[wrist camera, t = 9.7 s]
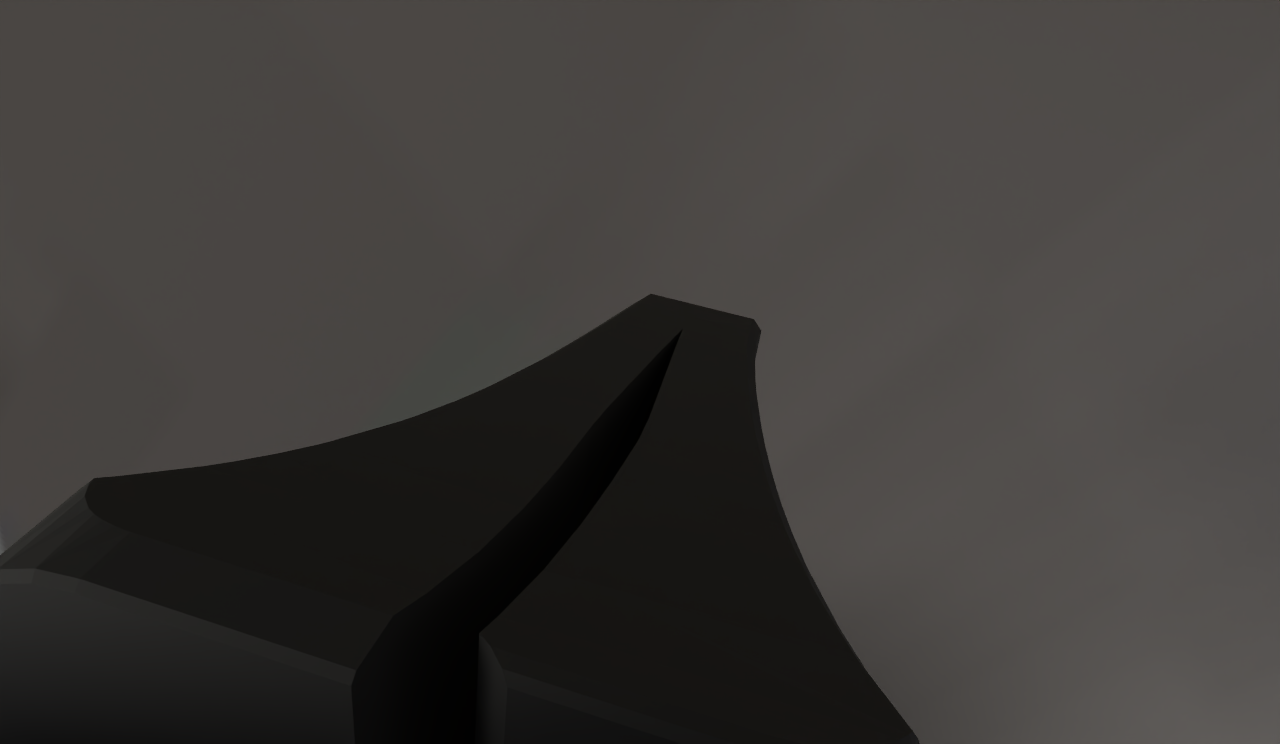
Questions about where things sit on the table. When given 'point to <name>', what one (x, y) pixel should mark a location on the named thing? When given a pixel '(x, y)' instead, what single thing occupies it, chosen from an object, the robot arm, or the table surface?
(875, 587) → the table surface
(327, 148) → the table surface
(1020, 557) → the table surface
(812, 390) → the table surface
